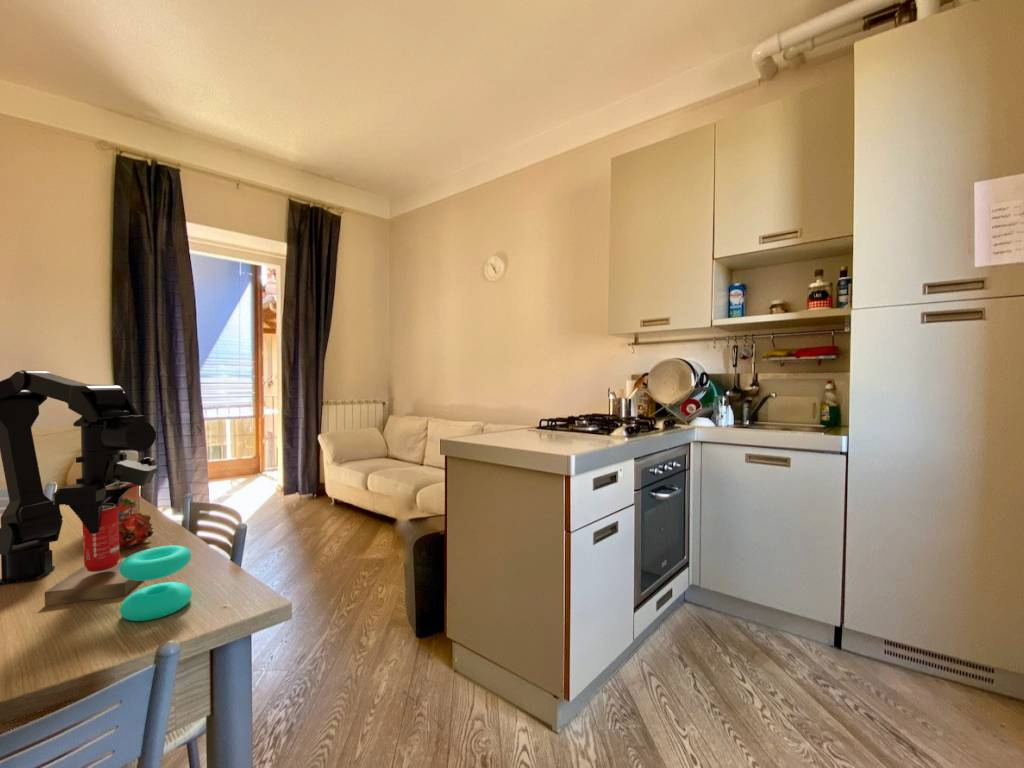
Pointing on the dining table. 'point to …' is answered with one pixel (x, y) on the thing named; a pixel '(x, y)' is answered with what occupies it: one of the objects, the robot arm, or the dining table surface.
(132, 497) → the fruit juice
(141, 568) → the donuts
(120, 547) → the dragon fruit
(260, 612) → the dining table surface
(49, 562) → the robot arm
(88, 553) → the beverage can
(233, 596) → the dining table surface
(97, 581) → the walnut plinth
